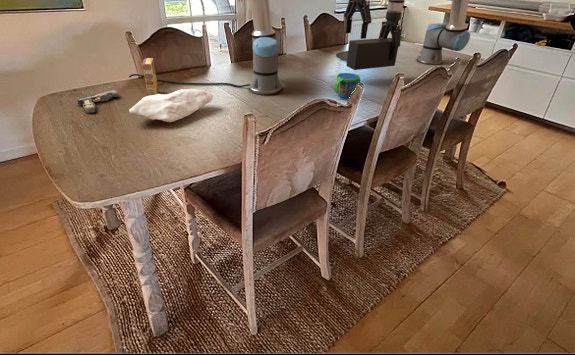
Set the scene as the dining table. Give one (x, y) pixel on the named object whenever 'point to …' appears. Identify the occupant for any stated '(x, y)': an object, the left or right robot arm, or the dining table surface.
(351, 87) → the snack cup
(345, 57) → the grey disc with mount
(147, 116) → the crumpled cloth
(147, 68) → the candy box
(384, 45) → the box
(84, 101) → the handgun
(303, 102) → the dining table surface
